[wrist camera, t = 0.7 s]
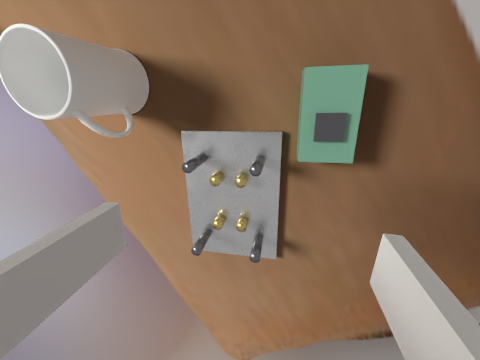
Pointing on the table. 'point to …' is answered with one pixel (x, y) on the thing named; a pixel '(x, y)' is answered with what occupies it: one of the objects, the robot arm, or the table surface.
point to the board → (330, 112)
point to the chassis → (233, 190)
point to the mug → (70, 77)
